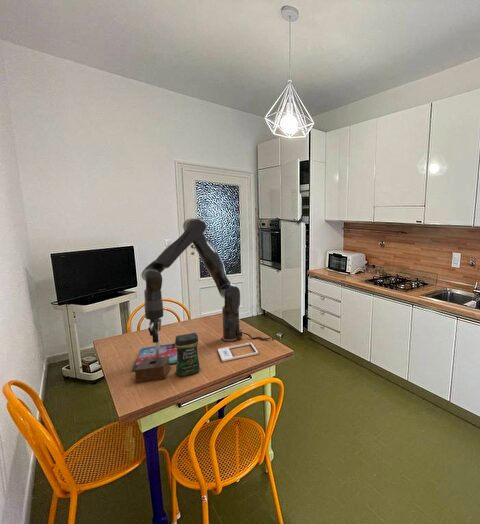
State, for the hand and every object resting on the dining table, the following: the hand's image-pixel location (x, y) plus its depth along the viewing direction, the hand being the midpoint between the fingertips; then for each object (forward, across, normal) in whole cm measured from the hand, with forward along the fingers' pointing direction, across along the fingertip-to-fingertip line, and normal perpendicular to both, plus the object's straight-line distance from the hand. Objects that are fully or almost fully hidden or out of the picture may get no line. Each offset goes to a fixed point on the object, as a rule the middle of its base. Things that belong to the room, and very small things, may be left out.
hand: (156, 341), depth 146 cm
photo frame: (+10, -2, -38) cm, 40 cm away
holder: (+10, -16, -2) cm, 19 cm away
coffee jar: (+10, -18, -17) cm, 26 cm away
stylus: (+9, 0, 0) cm, 9 cm away
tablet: (+10, +4, 0) cm, 11 cm away
